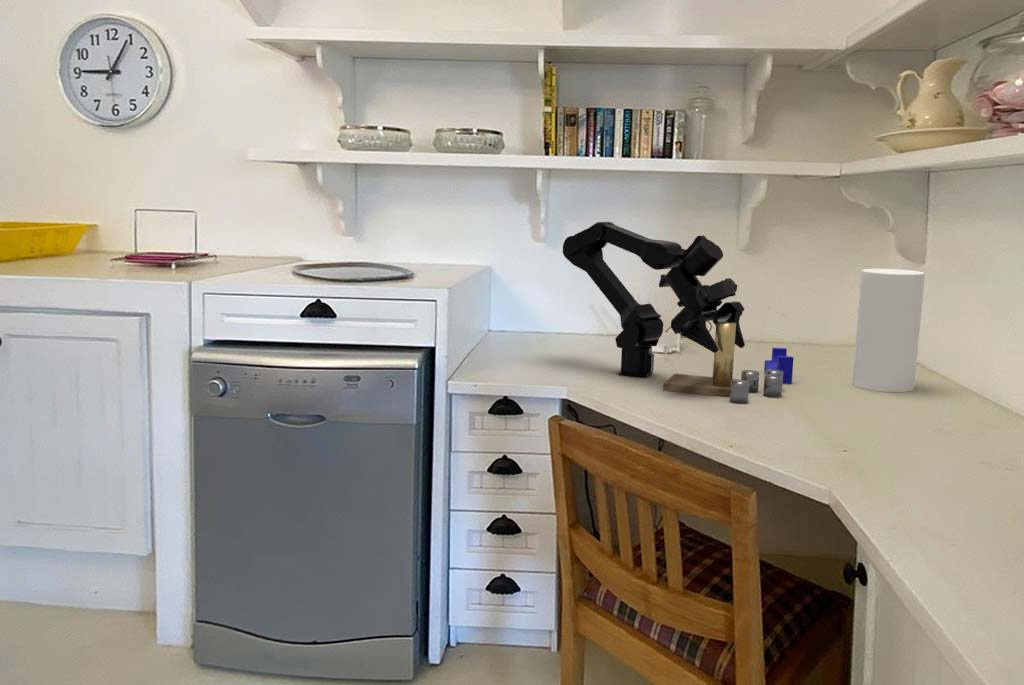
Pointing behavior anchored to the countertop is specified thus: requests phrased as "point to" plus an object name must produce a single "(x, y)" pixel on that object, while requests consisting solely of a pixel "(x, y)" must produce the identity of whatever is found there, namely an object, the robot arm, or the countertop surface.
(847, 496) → the countertop surface
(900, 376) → the cylinder
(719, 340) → the cylinder
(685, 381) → the brown wooden board
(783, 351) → the cable clip
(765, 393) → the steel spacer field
